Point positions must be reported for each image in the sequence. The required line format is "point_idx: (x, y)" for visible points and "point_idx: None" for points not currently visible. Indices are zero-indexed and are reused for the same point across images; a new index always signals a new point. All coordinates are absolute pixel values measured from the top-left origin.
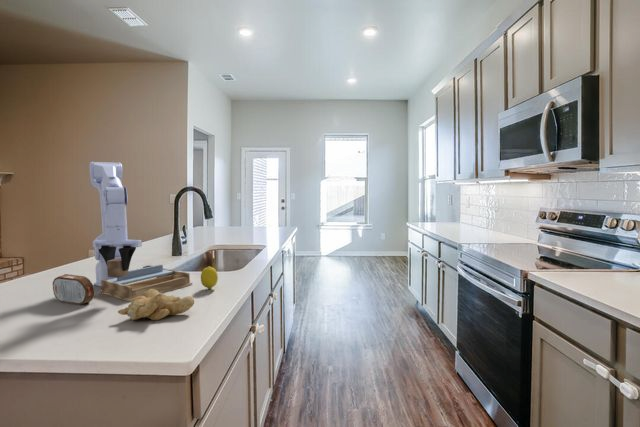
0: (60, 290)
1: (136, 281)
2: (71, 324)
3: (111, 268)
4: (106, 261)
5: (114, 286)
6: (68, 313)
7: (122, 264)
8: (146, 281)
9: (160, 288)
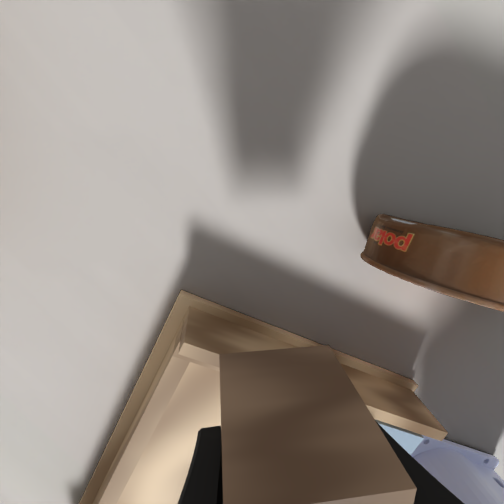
0: None
1: None
2: None
3: (318, 408)
4: (430, 492)
5: None
6: (375, 86)
7: (209, 486)
8: None
9: (123, 442)
